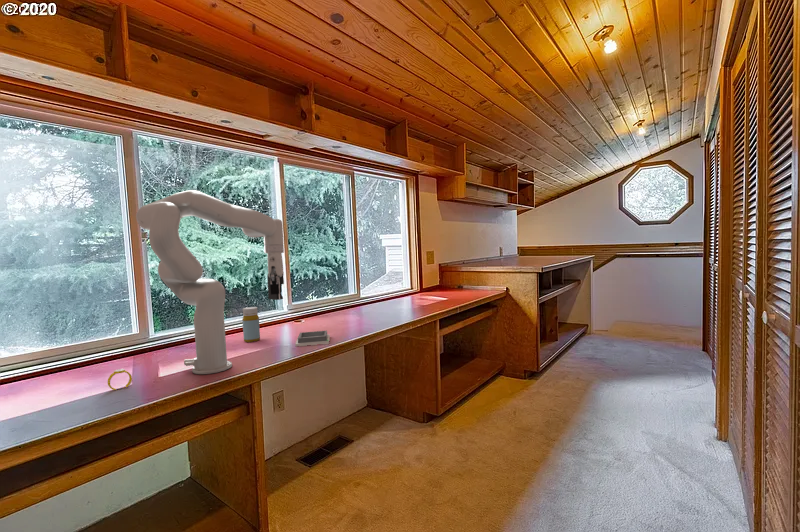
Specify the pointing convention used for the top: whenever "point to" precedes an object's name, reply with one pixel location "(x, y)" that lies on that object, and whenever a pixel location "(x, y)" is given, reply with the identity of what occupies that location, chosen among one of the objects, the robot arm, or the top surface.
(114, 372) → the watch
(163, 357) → the top surface
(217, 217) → the robot arm
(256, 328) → the bottle
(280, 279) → the battery
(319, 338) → the dock
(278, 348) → the top surface
